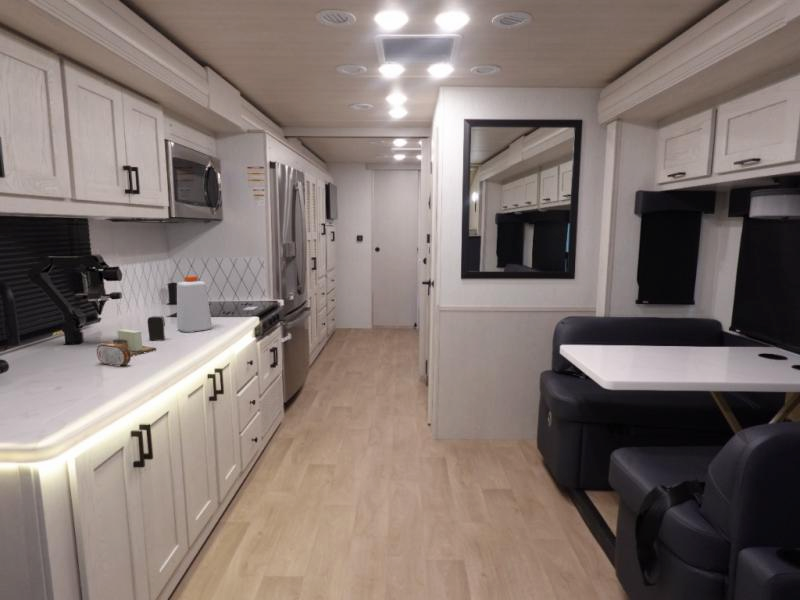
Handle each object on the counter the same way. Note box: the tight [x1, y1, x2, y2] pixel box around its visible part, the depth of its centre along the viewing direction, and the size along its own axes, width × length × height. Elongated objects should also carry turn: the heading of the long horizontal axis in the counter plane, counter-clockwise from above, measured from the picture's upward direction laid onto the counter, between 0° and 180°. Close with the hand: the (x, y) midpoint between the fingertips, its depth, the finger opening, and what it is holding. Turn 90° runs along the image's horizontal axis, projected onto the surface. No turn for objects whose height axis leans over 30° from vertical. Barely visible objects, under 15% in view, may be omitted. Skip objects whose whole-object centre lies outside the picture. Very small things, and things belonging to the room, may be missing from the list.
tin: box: [96, 342, 132, 366], centre depth 187 cm, size 15×3×8 cm, turn 71°
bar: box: [117, 328, 143, 351], centre depth 206 cm, size 11×3×8 cm, turn 64°
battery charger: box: [147, 315, 166, 341], centre depth 229 cm, size 7×4×11 cm, turn 99°
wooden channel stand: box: [112, 338, 157, 357], centre depth 207 cm, size 16×14×6 cm
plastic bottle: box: [176, 275, 213, 333], centre depth 252 cm, size 15×15×28 cm
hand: (99, 314), depth 224 cm, fingers closed
